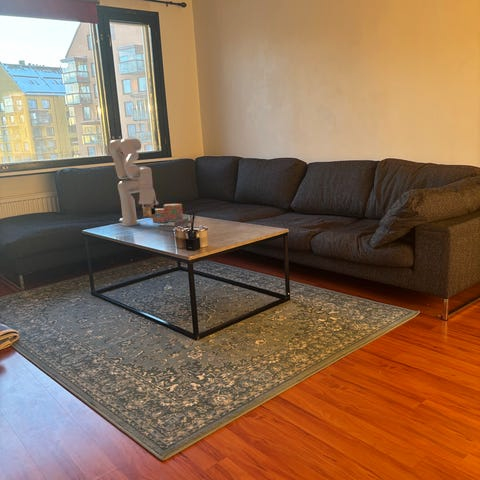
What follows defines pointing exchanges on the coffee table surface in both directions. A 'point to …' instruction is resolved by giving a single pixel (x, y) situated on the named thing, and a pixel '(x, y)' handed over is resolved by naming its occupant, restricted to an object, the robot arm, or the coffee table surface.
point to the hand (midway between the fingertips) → (149, 213)
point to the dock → (173, 224)
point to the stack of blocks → (169, 213)
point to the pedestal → (148, 212)
